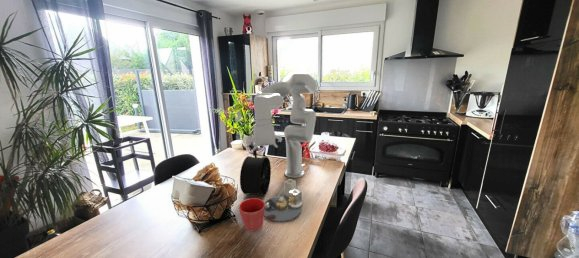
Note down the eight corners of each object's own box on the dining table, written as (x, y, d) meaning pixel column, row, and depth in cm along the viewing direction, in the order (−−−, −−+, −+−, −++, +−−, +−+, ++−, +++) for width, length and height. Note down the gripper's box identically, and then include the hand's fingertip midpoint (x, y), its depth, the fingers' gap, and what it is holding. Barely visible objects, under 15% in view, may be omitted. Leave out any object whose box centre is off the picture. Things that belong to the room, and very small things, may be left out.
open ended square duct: (289, 188, 127) (289, 177, 125) (299, 192, 123) (299, 180, 121) (281, 193, 122) (281, 181, 120) (291, 197, 117) (291, 185, 116)
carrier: (280, 194, 121) (279, 180, 119) (309, 207, 109) (309, 191, 107) (253, 211, 107) (251, 195, 105) (283, 228, 95) (283, 210, 93)
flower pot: (255, 237, 90) (253, 215, 88) (235, 227, 96) (233, 207, 94) (271, 222, 99) (270, 202, 97) (251, 214, 105) (250, 195, 102)
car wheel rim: (260, 203, 113) (258, 166, 108) (241, 201, 115) (238, 164, 110) (271, 184, 132) (269, 151, 127) (255, 182, 134) (252, 150, 129)
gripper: (279, 118, 113) (281, 151, 117) (244, 121, 108) (247, 155, 113) (283, 122, 106) (284, 156, 110) (245, 125, 101) (248, 161, 106)
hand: (265, 155), depth 112 cm, fingers open, 9 cm apart
